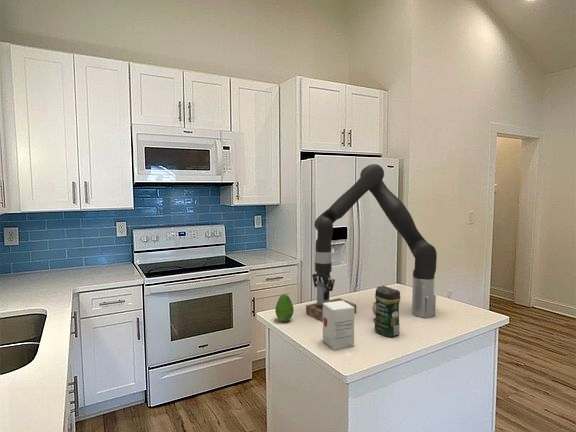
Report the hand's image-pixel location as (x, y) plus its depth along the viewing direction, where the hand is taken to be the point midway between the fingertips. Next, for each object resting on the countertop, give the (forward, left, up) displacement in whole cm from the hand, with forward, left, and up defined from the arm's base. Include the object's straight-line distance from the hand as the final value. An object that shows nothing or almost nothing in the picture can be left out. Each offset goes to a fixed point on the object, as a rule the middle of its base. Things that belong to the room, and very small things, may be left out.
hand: (323, 298), depth 170 cm
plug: (0, 0, -2) cm, 2 cm away
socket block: (0, -5, -8) cm, 9 cm away
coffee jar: (-30, -9, -8) cm, 32 cm away
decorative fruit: (-20, -18, -8) cm, 28 cm away
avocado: (+4, +18, -8) cm, 20 cm away
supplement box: (-27, +14, -8) cm, 32 cm away
